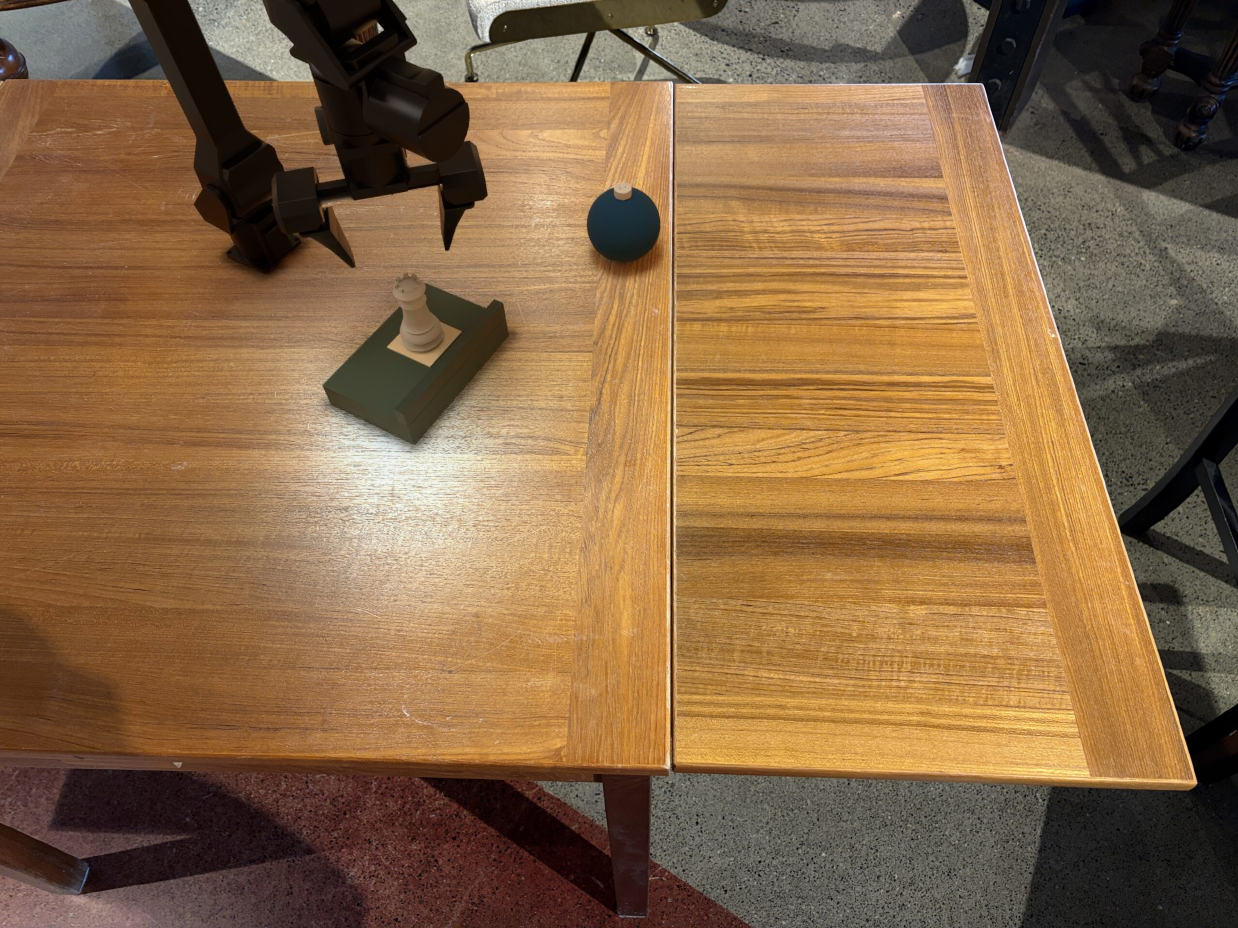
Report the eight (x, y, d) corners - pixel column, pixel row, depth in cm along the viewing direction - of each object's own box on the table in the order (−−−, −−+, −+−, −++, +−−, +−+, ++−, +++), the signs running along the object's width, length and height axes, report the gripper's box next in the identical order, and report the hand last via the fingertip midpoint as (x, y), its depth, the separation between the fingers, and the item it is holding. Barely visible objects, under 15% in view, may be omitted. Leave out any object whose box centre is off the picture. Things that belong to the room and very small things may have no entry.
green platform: (330, 403, 93) (315, 372, 89) (428, 301, 101) (419, 268, 97) (414, 445, 89) (403, 414, 85) (509, 335, 98) (503, 302, 94)
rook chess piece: (403, 324, 95) (385, 267, 88) (445, 321, 95) (430, 264, 88) (400, 356, 92) (382, 299, 86) (444, 352, 92) (429, 296, 86)
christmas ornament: (642, 221, 108) (642, 150, 100) (671, 265, 104) (674, 194, 95) (577, 241, 106) (572, 170, 98) (605, 286, 102) (601, 216, 94)
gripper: (456, 48, 81) (480, 189, 94) (246, 80, 79) (300, 221, 92) (476, 119, 75) (498, 260, 88) (248, 156, 73) (306, 295, 85)
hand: (400, 256), depth 88 cm, fingers open, 9 cm apart
